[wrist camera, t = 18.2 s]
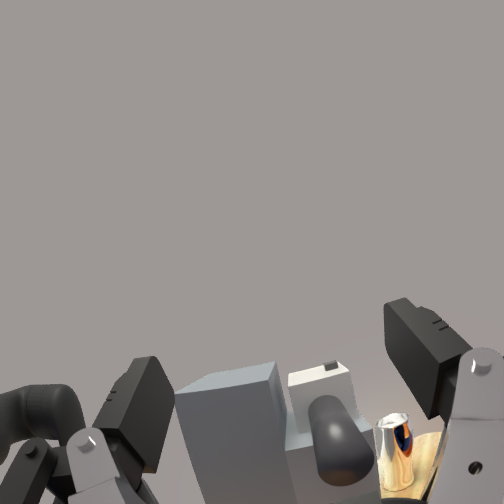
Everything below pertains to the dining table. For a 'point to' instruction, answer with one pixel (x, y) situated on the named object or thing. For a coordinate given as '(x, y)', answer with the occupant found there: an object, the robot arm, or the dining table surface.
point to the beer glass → (395, 450)
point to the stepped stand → (256, 442)
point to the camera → (331, 422)
